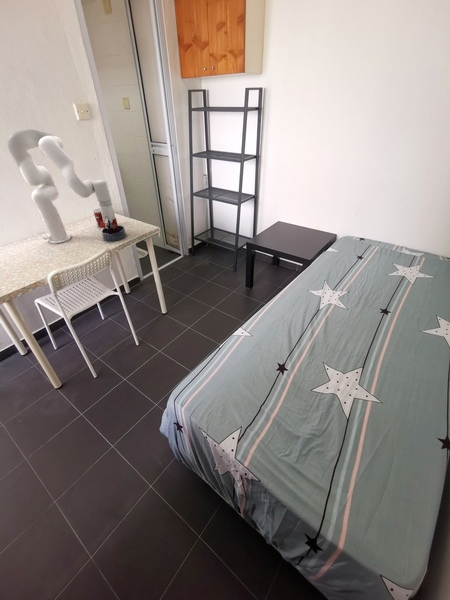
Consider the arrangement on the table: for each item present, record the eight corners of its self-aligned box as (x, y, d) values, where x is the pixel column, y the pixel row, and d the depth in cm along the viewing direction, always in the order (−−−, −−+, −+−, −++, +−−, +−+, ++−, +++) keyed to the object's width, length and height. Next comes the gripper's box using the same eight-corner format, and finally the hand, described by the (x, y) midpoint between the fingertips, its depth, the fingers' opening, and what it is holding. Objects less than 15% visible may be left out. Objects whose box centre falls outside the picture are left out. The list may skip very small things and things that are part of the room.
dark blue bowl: (104, 243, 174) (102, 236, 171) (102, 235, 184) (100, 228, 181) (128, 238, 178) (126, 231, 175) (124, 231, 188) (122, 223, 185)
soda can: (117, 239, 177) (111, 220, 170) (106, 238, 178) (101, 220, 171) (122, 234, 183) (117, 216, 176) (112, 233, 184) (107, 215, 177)
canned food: (98, 224, 199) (93, 209, 193) (110, 222, 201) (105, 207, 194) (97, 228, 193) (92, 212, 187) (110, 226, 195) (105, 211, 189)
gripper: (102, 198, 175) (110, 226, 185) (94, 208, 161) (103, 237, 171) (114, 197, 175) (122, 225, 186) (108, 207, 161) (116, 236, 172)
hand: (113, 230), depth 178 cm, fingers closed on soda can, 7 cm apart
